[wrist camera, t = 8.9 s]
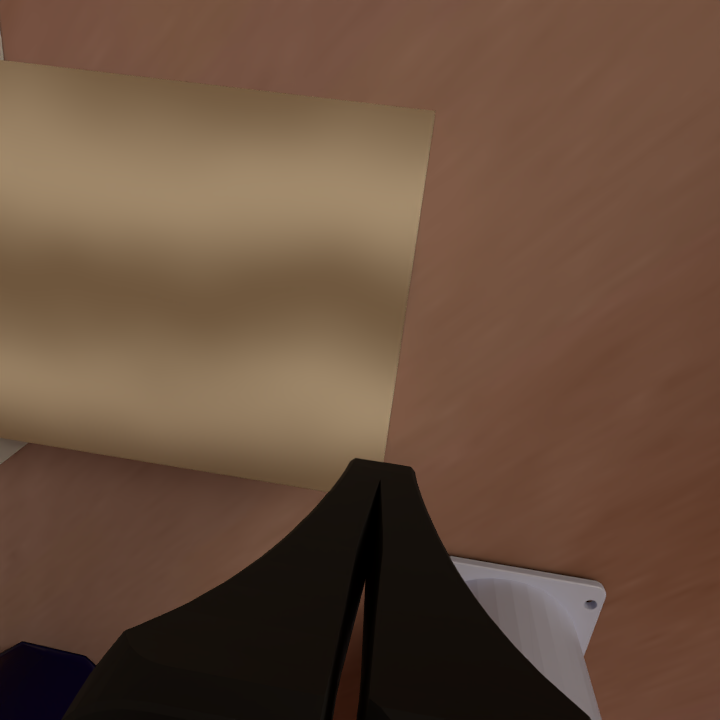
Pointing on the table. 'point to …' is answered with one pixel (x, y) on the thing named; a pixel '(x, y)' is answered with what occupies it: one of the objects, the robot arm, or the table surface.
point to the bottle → (39, 681)
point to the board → (203, 271)
